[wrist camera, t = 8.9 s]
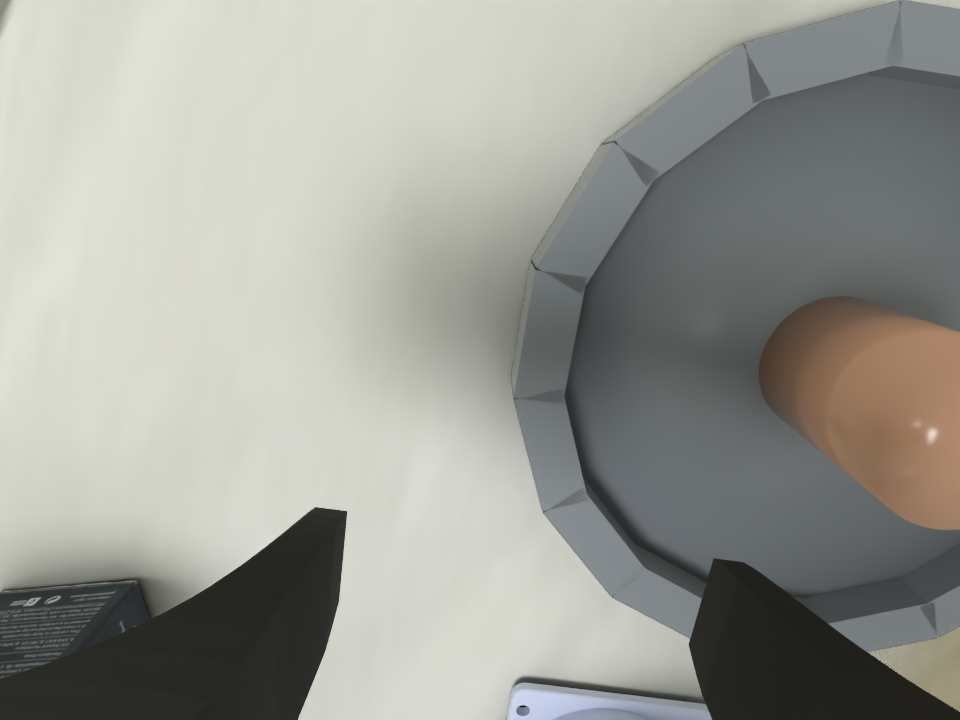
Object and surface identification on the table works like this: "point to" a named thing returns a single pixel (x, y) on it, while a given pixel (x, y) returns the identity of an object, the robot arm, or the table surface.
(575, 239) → the round tray
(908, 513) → the terracotta rounded cylinder
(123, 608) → the box
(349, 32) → the table surface
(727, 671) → the robot arm
